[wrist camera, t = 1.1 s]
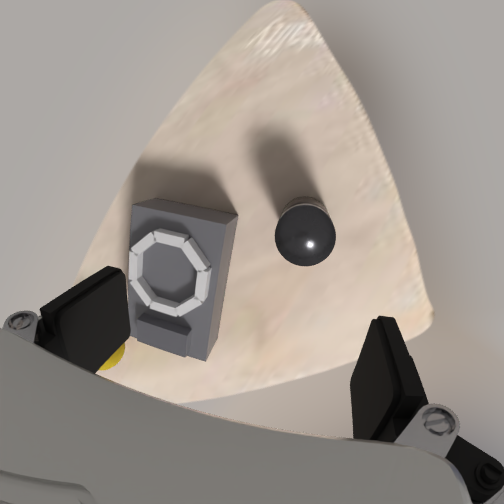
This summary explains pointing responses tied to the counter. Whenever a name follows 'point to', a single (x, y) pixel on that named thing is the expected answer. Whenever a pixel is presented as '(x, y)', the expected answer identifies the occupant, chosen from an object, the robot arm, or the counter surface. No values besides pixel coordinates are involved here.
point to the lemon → (114, 358)
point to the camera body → (178, 275)
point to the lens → (305, 232)
